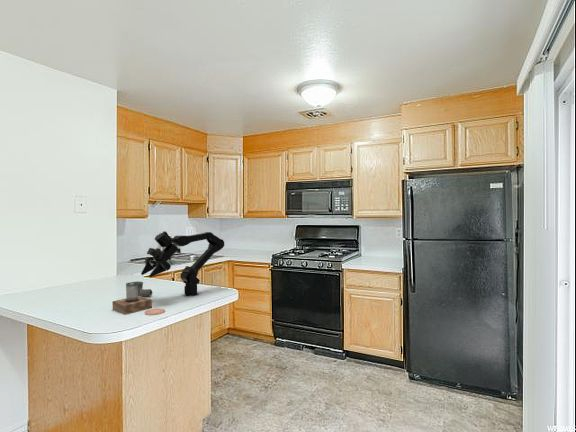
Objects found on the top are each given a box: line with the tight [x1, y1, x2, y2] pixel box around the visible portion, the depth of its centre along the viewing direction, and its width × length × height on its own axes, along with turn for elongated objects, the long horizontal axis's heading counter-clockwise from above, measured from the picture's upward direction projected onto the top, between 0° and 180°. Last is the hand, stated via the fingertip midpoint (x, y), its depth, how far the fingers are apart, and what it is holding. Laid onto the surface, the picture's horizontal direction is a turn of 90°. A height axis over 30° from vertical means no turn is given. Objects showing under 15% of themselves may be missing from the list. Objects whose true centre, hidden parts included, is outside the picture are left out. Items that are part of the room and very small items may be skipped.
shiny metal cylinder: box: [125, 281, 138, 303], centre depth 167 cm, size 5×5×12 cm
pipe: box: [136, 281, 153, 297], centre depth 191 cm, size 6×13×8 cm, turn 78°
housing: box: [112, 296, 153, 315], centre depth 167 cm, size 13×13×4 cm
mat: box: [144, 308, 166, 316], centre depth 160 cm, size 9×9×1 cm
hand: (145, 275), depth 174 cm, fingers open, 9 cm apart
